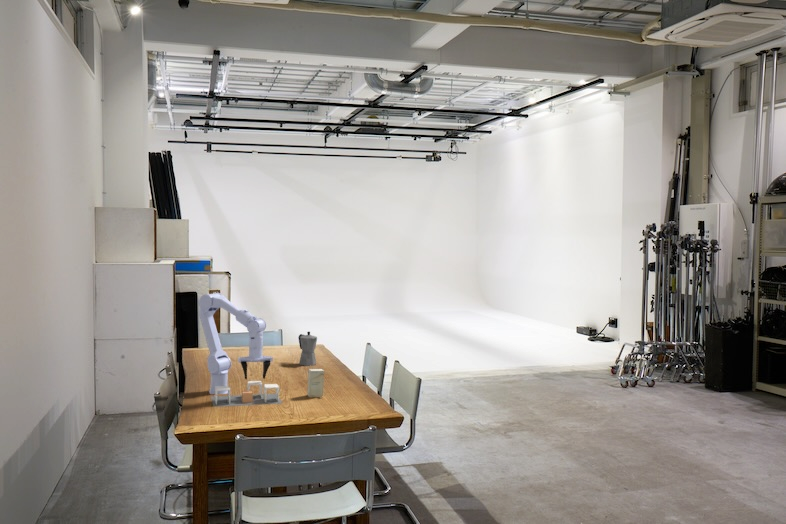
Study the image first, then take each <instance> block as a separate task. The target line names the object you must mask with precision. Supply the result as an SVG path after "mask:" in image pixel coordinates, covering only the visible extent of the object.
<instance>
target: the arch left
mask: <svg viewBox="0 0 786 524" xmlns="http://www.w3.org/2000/svg"><path fill="white" fill-rule="evenodd" d="M227 390H228V394H227V396H228V402H229V404H230V396H231V387H230V385H227V386H215V394H214V396H215V403H216V405H217V396H218V394H217V391H227Z"/></svg>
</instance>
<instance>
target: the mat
mask: <svg viewBox="0 0 786 524" xmlns="http://www.w3.org/2000/svg"><path fill="white" fill-rule="evenodd" d="M263 395H264V393H262V398H261V397H260V395H259V393H258V394H253V402H250V403H243V402H242V394H241V395H240V394H239V395H237V394H236V395H230V404H229V402H228V395H219V396H218V395H217V405H216V403H215V395H214V396H213V395H212V396H210V400H211V403H212V407H213V408H218V407H220V408H221V407H222V408H223V407H237V406H256V405H257V406H259V405H277V404H281V405H282V404H283V401H282V400H281V399H280V397H279V402H278V401H277V400H276V393H267V399H266V402H265V401H264V399H263Z"/></svg>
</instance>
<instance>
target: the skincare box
mask: <svg viewBox="0 0 786 524" xmlns="http://www.w3.org/2000/svg"><path fill="white" fill-rule="evenodd" d="M324 377H325V369H322V368H308V374H307V396H308V398H317V397H322V396H323V397H324V387H325V386H324V383H325V380H324V379H325V378H324Z"/></svg>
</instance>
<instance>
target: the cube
mask: <svg viewBox="0 0 786 524" xmlns="http://www.w3.org/2000/svg"><path fill="white" fill-rule="evenodd" d="M241 395H242V402H243V403H250V402H253V395H254V393H253V391H252V390H250V391H247V390H242V391H241Z"/></svg>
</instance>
